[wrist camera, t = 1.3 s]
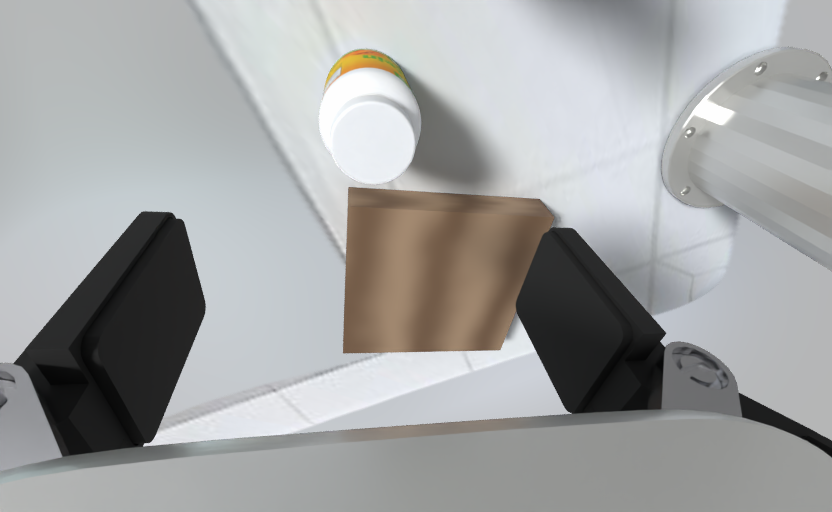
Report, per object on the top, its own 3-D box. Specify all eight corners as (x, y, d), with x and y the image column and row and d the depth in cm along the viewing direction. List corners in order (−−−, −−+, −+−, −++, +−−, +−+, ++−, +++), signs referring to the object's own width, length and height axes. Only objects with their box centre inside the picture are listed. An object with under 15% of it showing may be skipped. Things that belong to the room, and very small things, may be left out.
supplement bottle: (422, 79, 25) (454, 126, 17) (381, 146, 27) (393, 215, 20) (349, 27, 23) (348, 56, 15) (311, 106, 25) (294, 165, 17)
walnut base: (539, 199, 32) (554, 217, 30) (491, 328, 41) (500, 350, 39) (348, 187, 29) (348, 206, 26) (343, 329, 38) (343, 353, 36)
